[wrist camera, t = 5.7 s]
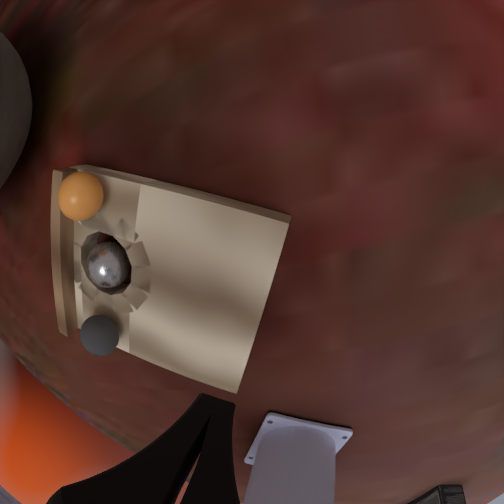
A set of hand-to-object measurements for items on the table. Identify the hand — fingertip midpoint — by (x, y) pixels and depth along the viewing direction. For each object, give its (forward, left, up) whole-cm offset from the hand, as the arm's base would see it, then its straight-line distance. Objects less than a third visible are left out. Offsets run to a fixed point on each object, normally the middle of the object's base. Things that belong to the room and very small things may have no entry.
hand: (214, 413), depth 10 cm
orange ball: (+5, +12, -6) cm, 14 cm away
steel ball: (0, +10, -8) cm, 13 cm away
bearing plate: (-1, +7, -10) cm, 12 cm away
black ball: (-5, +10, -6) cm, 13 cm away
